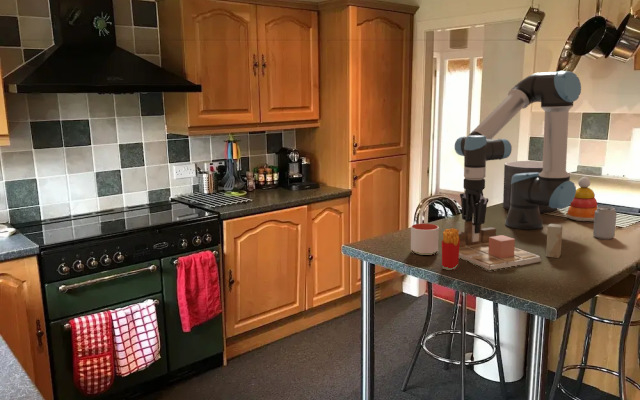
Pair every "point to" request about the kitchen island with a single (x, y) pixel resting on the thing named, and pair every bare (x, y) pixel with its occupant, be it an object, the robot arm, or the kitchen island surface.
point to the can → (604, 223)
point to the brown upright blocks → (478, 245)
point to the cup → (424, 238)
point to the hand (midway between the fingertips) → (472, 240)
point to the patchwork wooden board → (485, 240)
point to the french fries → (450, 248)
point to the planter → (518, 168)
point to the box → (554, 240)
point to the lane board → (504, 264)
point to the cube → (501, 246)
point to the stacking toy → (583, 202)
